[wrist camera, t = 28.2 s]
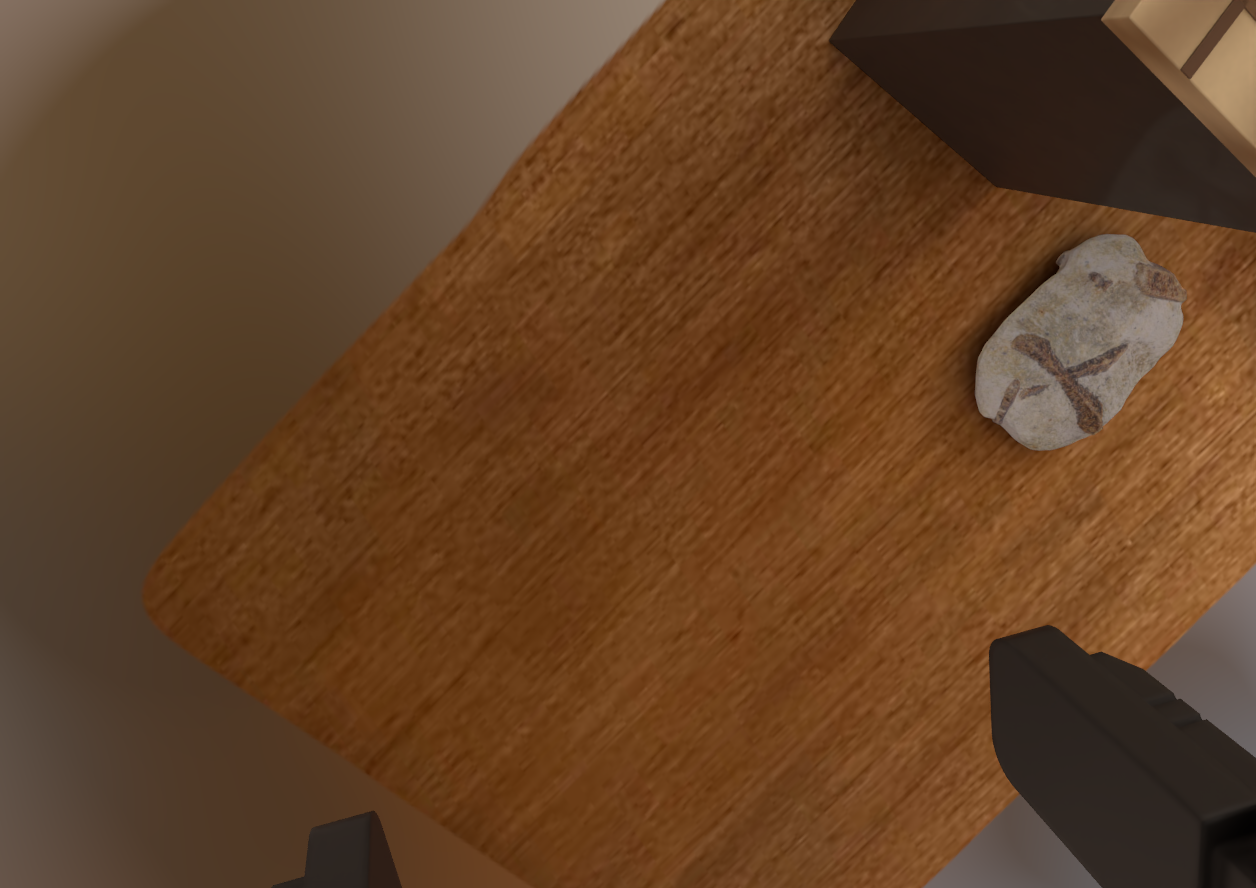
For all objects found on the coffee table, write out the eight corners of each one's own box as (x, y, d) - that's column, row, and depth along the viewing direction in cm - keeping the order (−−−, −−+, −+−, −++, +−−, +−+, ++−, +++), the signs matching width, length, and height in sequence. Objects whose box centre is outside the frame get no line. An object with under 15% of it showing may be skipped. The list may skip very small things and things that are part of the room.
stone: (1035, 467, 58) (1070, 489, 55) (934, 378, 55) (966, 396, 52) (1178, 304, 57) (1223, 316, 54) (1084, 202, 53) (1125, 209, 50)
